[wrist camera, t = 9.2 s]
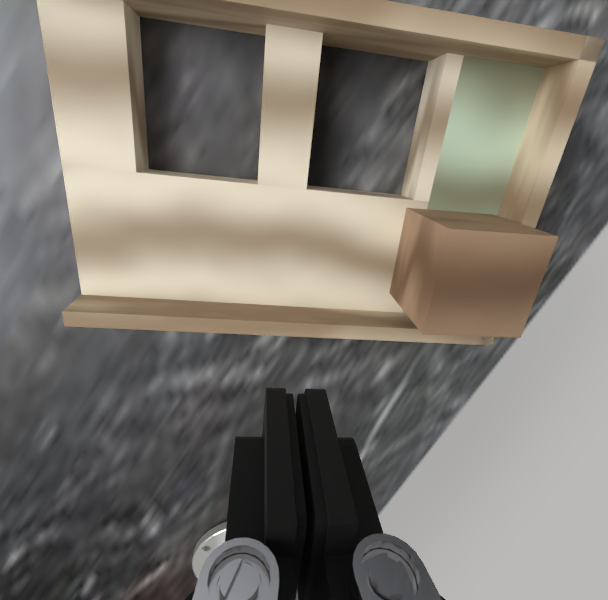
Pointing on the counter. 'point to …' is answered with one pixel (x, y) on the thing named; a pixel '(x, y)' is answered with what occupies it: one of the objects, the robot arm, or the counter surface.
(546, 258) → the walnut block
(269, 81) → the box
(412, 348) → the counter surface
